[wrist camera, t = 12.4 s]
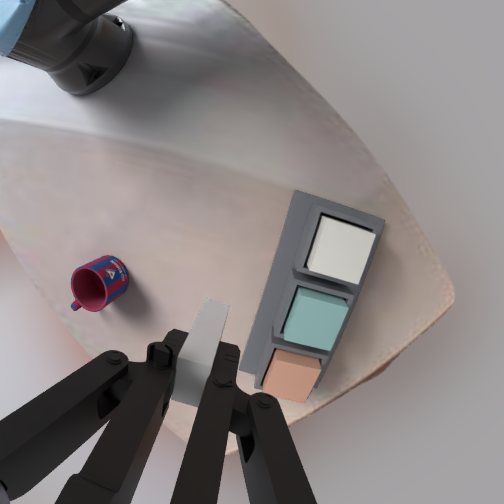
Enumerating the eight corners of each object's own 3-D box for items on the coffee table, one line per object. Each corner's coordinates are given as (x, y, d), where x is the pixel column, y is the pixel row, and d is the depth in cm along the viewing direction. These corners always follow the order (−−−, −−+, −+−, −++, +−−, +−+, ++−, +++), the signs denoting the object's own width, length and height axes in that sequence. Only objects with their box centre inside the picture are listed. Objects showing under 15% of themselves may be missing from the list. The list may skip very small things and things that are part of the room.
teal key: (297, 281, 38) (300, 295, 33) (339, 292, 38) (348, 308, 33) (283, 321, 39) (284, 339, 34) (323, 331, 39) (330, 350, 34)
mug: (136, 283, 43) (116, 299, 36) (97, 310, 44) (76, 327, 38) (113, 247, 42) (89, 257, 35) (76, 277, 43) (53, 290, 37)
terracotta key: (276, 339, 40) (276, 359, 35) (316, 349, 40) (321, 369, 35) (263, 372, 41) (262, 394, 36) (301, 381, 41) (304, 403, 36)
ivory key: (318, 213, 36) (326, 217, 31) (362, 228, 36) (375, 234, 31) (304, 259, 37) (309, 270, 32) (347, 272, 37) (358, 284, 32)
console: (294, 189, 38) (298, 190, 32) (382, 219, 38) (399, 224, 32) (239, 365, 44) (235, 388, 39) (315, 383, 44) (320, 406, 39)
